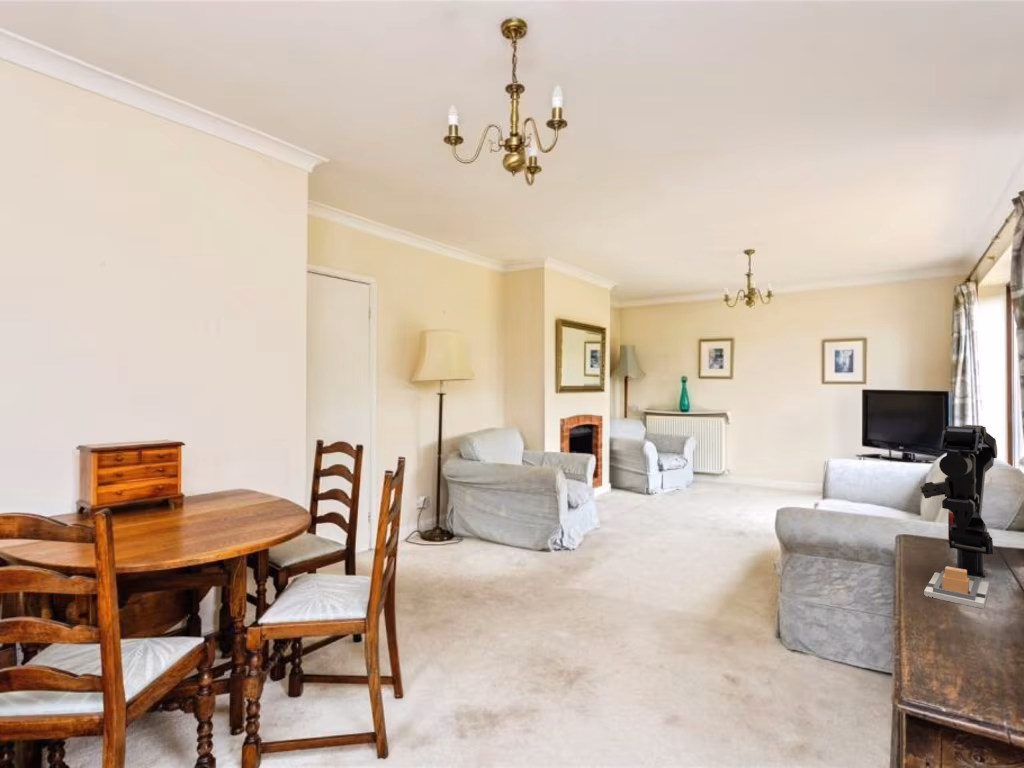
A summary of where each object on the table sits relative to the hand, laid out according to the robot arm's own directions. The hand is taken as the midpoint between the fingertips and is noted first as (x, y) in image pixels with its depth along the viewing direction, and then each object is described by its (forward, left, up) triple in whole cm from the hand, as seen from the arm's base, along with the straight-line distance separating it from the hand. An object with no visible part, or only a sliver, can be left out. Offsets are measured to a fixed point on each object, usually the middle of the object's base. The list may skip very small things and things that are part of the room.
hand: (961, 533), depth 143 cm
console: (+9, 0, -13) cm, 16 cm away
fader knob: (+13, 0, -12) cm, 17 cm away
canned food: (-49, -3, -13) cm, 51 cm away
